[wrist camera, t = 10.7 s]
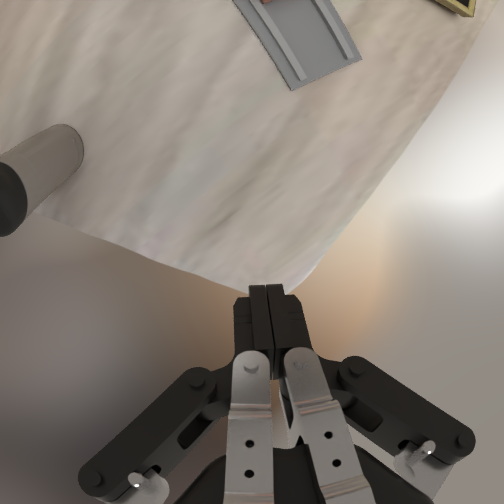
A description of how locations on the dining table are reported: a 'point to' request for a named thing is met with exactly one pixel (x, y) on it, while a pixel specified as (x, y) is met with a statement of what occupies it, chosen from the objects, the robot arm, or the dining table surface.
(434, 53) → the dining table surface
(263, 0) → the salmon rectangular block
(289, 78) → the grey slide track
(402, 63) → the dining table surface
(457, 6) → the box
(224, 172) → the dining table surface
